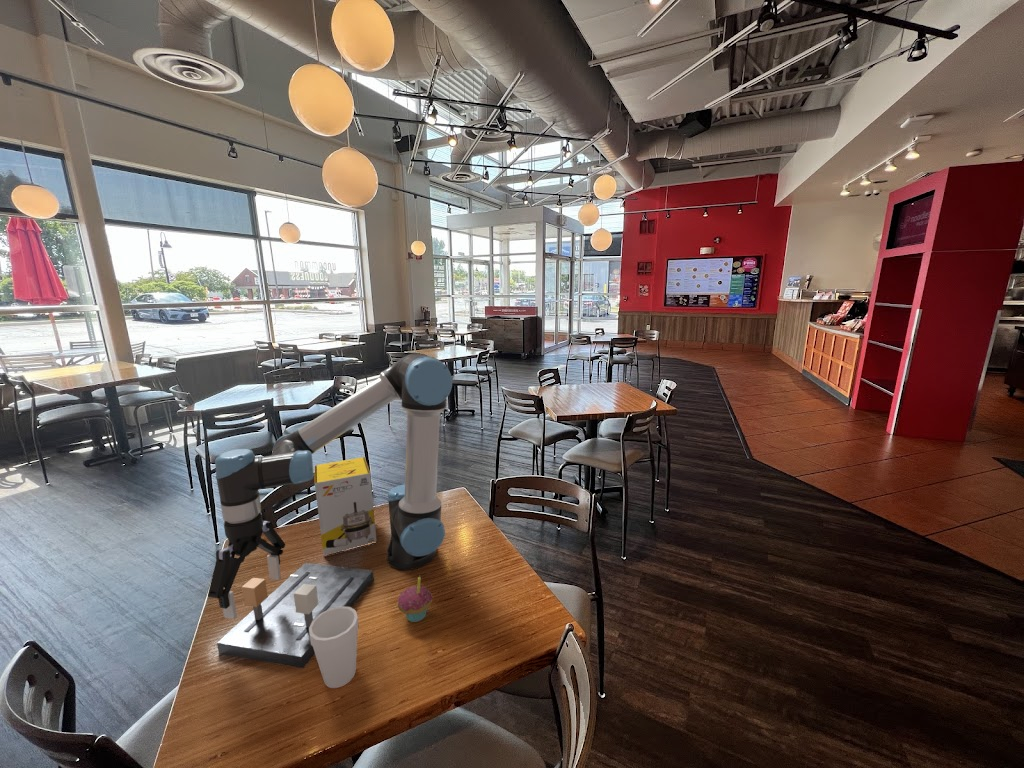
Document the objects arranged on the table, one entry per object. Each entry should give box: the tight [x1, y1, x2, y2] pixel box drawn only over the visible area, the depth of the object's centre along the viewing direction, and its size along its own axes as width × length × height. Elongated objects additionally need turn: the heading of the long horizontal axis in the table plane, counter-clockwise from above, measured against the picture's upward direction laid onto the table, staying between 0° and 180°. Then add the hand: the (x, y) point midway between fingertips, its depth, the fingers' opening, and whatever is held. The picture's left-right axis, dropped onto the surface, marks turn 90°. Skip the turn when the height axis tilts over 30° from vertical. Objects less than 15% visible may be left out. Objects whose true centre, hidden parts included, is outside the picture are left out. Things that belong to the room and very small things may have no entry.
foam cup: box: [309, 606, 360, 689], centre depth 88 cm, size 10×9×13 cm
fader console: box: [216, 562, 375, 669], centre depth 107 cm, size 22×30×3 cm
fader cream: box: [294, 584, 318, 627], centre depth 98 cm, size 3×3×10 cm
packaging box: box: [314, 456, 377, 555], centre depth 139 cm, size 16×16×25 cm
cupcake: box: [396, 575, 433, 623], centre depth 104 cm, size 9×8×12 cm
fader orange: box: [241, 577, 269, 620], centre depth 100 cm, size 3×3×10 cm
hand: (254, 596), depth 100 cm, fingers open, 13 cm apart
